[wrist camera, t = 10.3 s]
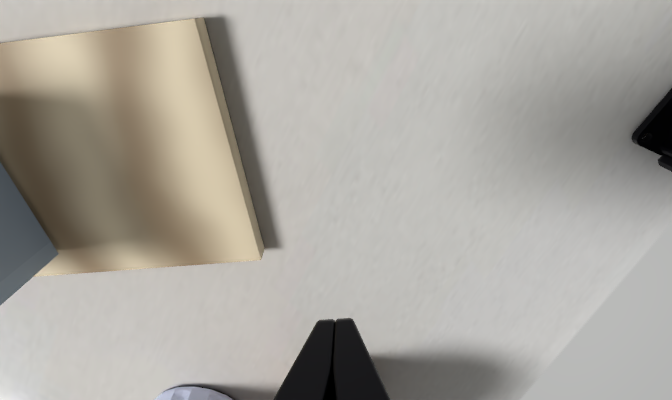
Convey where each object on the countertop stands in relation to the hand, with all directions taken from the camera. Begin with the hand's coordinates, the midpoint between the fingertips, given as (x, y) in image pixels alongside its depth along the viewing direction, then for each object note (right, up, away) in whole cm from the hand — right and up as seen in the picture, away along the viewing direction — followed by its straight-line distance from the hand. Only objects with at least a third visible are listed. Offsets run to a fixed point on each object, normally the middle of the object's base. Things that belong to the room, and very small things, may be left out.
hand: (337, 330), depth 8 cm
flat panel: (-17, +5, +13) cm, 21 cm away
